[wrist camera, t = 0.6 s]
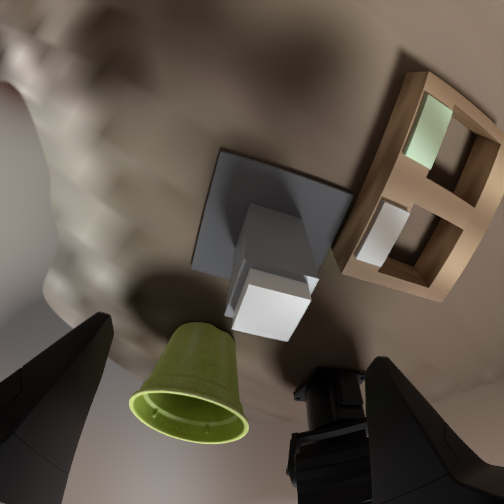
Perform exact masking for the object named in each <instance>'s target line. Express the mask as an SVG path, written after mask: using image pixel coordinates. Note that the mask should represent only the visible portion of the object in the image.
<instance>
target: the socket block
mask: <svg viewBox="0 0 504 504" xmlns="http://www.w3.org/2000/svg"><path fill="white" fill-rule="evenodd" d="M451 116H452V117H454V118H455V119H456V120H458V121H459V122H460V123H462V124H463V125H464V126H465V127H467V128H468V129H469V130H470V131H472V132H473V133H474V134H475V135H476V138H475V141H474V144H473V146H472V149H471V152H470V154H469V157H468V159H467V162H466V164H465V167H464V169H463V172H462V174H461V176H460V179H459V181H458V183H457V185H456V188H455V190H454V192H451V191H449V190H448V189H446V188H444V187H443V186H441V185H439V184H438V183H436V182H434V181H433V180H431V179H429V178H427V177H426V176H427V174H428V172H429V170H431V168H432V165H433V163H434V161H435V158H436V156H437V153H438V151H439V148H440V146H441V143H442V141H443V138H444V135H445V133H446V130H447V127H448V124H449V122H450V119H451ZM503 194H504V133H503V132H502V131H501V130H500V129H499V128H498V127H497V126H496V125H495V124H494V123H493V122H492V121H491V120H490V119H489V118H488V117H487V116H486V115H485V114H483V113H482V112H481V111H480V110H479V109H478V108H477V107H475V106H474V105H473V104H472V103H471V102H469V101H468V100H467V99H466V98H465V97H463V96H462V95H461V94H460V93H458V92H457V91H456V90H454V89H453V88H452V87H451V86H449V85H448V84H446V83H445V82H444V81H442V80H441V79H440V78H438V77H437V76H435V75H434V74H432V73H431V72H429V71H424V72H410V73H406V75H405V78H404V81H403V84H402V86H401V89H400V92H399V95H398V98H397V101H396V103H395V106H394V109H393V112H392V114H391V117H390V120H389V122H388V125H387V128H386V130H385V133H384V135H383V138H382V140H381V143H380V145H379V148H378V150H377V153H376V155H375V158H374V160H373V162H372V165H371V167H370V170H369V172H368V174H367V177H366V179H365V181H364V183H363V186H362V188H361V190H360V193H359V195H358V197H357V199H356V201H355V204H354V206H353V208H352V210H351V212H350V215H349V217H348V219H347V221H346V223H345V225H344V227H343V229H342V231H341V234H340V236H339V238H338V240H337V242H336V244H335V246H334V248H333V250H332V251H333V254H334V256H335V259H336V261H337V264H338V266H339V269H340V272H341V274H344V275H347V276H351V277H354V278H358V279H361V280H365V281H368V282H372V283H375V284H378V285H382V286H385V287H389V288H392V289H396V290H399V291H403V292H406V293H410V294H413V295H417V296H420V297H423V298H427V299H430V300H434V301H437V302H441V303H442V301H443V300H444V298H445V297H446V295H447V294H448V293H449V291H450V290H451V288H452V287H453V285H454V284H455V282H456V281H457V279H458V278H459V276H460V274H461V273H462V271H463V270H464V268H465V266H466V265H467V263H468V261H469V260H470V258H471V256H472V255H473V253H474V251H475V250H476V248H477V246H478V244H479V242H480V241H481V239H482V237H483V235H484V233H485V231H486V229H487V227H488V225H489V223H490V222H491V219H492V217H493V215H494V213H495V211H496V209H497V207H498V205H499V203H500V200H501V198H502V196H503ZM414 204H416V205H418V206H420V207H422V208H424V209H426V210H428V211H430V212H432V213H434V214H436V215H438V216H440V217H441V219H440V221H439V223H438V225H437V226H436V228H435V230H434V232H433V234H432V236H431V238H430V239H429V241H428V243H427V245H426V247H425V248H424V250H423V252H422V254H421V255H420V257H419V259H418V260H417V262H416V264H415V265H414V266H411V265H408V264H405V263H403V262H400V261H397V260H394V259H391V258H388V257H387V256H388V254H389V253H390V251H391V249H392V247H393V245H394V244H395V242H396V240H397V238H398V236H399V234H400V232H401V231H402V229H403V227H404V225H405V223H406V221H407V219H408V217H409V215H410V211H411V209H412V207H413V205H414Z"/></svg>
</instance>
